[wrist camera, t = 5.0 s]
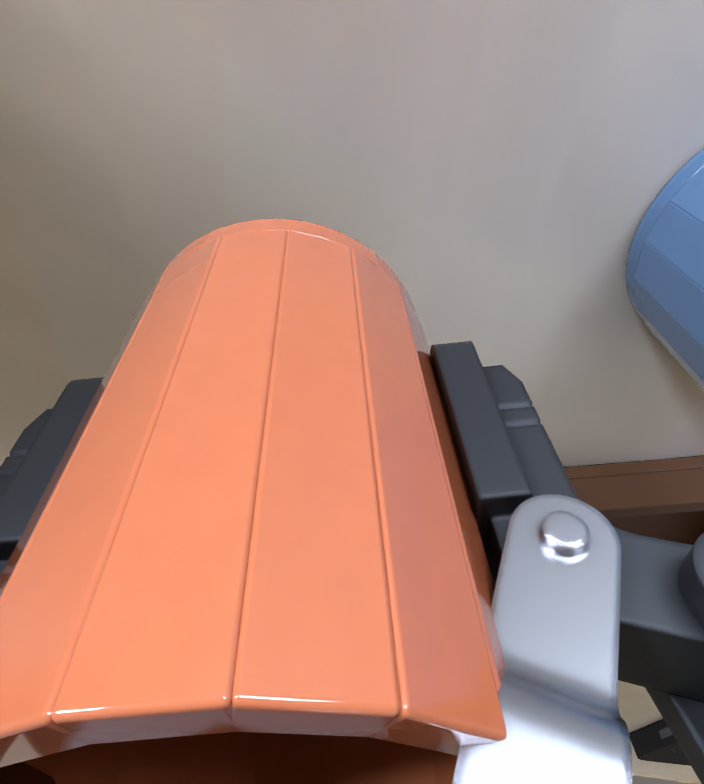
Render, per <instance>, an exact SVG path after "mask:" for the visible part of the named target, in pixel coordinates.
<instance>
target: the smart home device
mask: <svg viewBox="0 0 704 784" xmlns="http://www.w3.org/2000/svg"><path fill="white" fill-rule="evenodd" d="M630 739H631V742H632V744H633V747H634V750H635V752H636V755H637V757H638V759H640V760H645V761H654V762H663V763H672V764H681V765H690V766H691V764H690V763H689V761H688V759H687V758H686V756H685V754H684V753H683V751H682V749H681V747H680V746H679V744H678V742H677V741H676V739H675V737H674V736H673V734H672V732H671V730H670V729H669V727H668V725H667V724H666V722H665V720H662V721H660V722H658V723H655V724H653V725H651V726H648V727H646V728H644V729H642V730H639V731H637V732H635V733H633V734H630Z"/></svg>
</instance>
